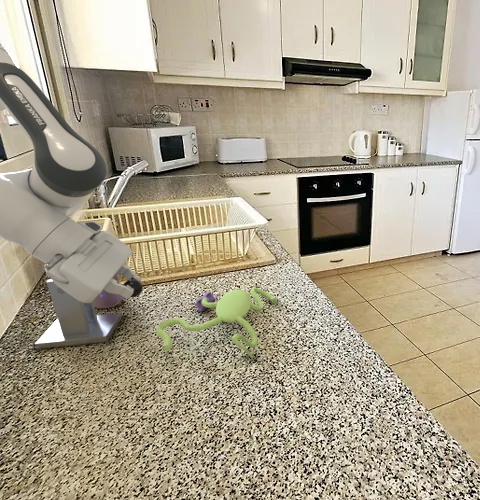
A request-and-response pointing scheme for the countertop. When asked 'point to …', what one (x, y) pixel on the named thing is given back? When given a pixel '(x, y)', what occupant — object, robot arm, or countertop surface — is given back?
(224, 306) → the figurine
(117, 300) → the beverage can
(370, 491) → the countertop surface
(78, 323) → the bracket
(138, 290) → the faucet lever
